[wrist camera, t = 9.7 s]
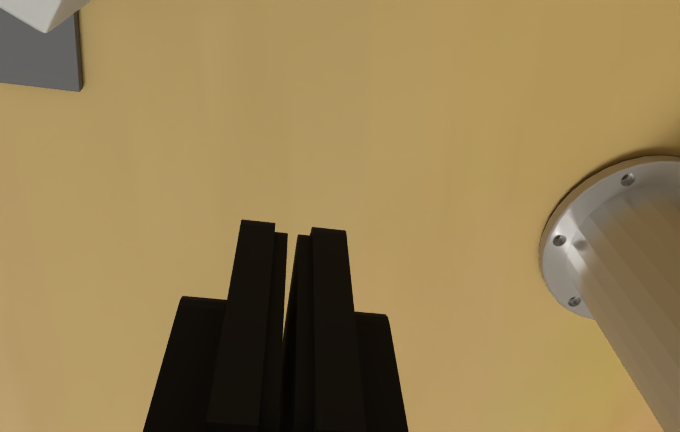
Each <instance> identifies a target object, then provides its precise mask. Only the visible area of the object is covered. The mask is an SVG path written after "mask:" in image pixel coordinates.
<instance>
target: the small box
mask: <svg viewBox="0 0 680 432" xmlns="http://www.w3.org/2000/svg"><path fill="white" fill-rule="evenodd" d="M89 1H90V0H0V8H2V9H3V10H5V11H7V12H8V13H10V14H12V15H13V16H15V17H17V18H18V19H20V20H22V21H23V22H25V23H27V24H28V25H30V26H32V27H34V28H35V29H37V30H39V31H41V32H43V33H48V32H49V31H51V30H53V29H54V28H55V27H57V26H58V25H60V24H61V23H62V22H63V21H65V20H66V19H67V18H68V17H70V16H71V15H72V14H73V13H75V12H76V11H77V10H79V9H80V8H81V7H83V6H84V5H86V4H87V3H88V2H89Z"/></svg>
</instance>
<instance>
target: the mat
mask: <svg viewBox="0 0 680 432" xmlns="http://www.w3.org/2000/svg"><path fill="white" fill-rule="evenodd" d="M0 83H9V84H17V85H25V86H34V87H42V88H51V89H59V90H67V91H76V92H80V91H81V90H82V89H83V84H82V70H81V56H80V42H79V28H78V14H77V11H76V12H75V13H73V14H72V15H71V16H70V17H68V18H67V19H66V20H65V21H63V22H62V23H61V24H60V25H58V26H57V27H55V28H54V29H53V30H51V31H49V32H48V33H43V32H41V31H39V30H37V29H35V28H34V27H32V26H30V25H28V24H27V23H25V22H23V21H22V20H20V19H18V18H17V17H15V16H13V15H12V14H10V13H8V12H7V11H5V10H3V9H2V8H0Z"/></svg>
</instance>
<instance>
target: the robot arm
mask: <svg viewBox="0 0 680 432" xmlns="http://www.w3.org/2000/svg"><path fill="white" fill-rule="evenodd" d="M287 238H288V233H279V232H275V223H270V222H260V221H251V220H241V225H240V231H239V236H238V242H237V248H236V253H235V259H234V265H233V270H232V276H231V281H230V287H229V293H228V298H227V300H221V299H210V298H199V297H188V296H182V298H181V300H180V302H179V305H178V309H177V312H176V316H175V319H174V323H173V327H172V330H171V334H170V337H169V341H168V344H167V348H166V351H165V355H164V358H163V362H162V365H161V369H160V373H159V376H158V380H157V383H156V387H155V390H154V394H153V397H152V401H151V404H150V408H149V412H148V415H147V419H146V422H145V426H144V429H143V432H408V426H407V420H406V415H405V409H404V403H403V398H402V392H401V386H400V381H399V375H398V369H397V363H396V358H395V352H394V346H393V341H392V335H391V329H390V324H389V320H388V317H387V316H386V315H385V314H375V313H364V312H354V304H353V294H352V284H351V275H350V265H349V255H348V246H347V236H346V231H345V230H335V229H326V228H316V227H312V229H311V233H310V236H308V235H299V234H298V237H297V243H296V250H295V257H294V264H293V272H292V279H291V286H290V293H289V300H288V307H287V314H286V321H285V328H284V335H283V319H284V299H285V279H286V259H287ZM539 267H540V271H541V275H542V278H543V280H544V282H545V284H546V286H547V287H548V289H549V291H550V293H551V294H552V295H553V296H554V298H555V299H556V300H557V302H558V303H560V304H561V305H562V306H563V307H564V308H566V309H567V310H569V311H571V312H573V313H575V314H577V315H579V316H582V317H586V318H590V319H593V320H595V321H596V322H597V324H598V325H599V327H600V329H601V330H602V332H603V333H604V335H605V337H606V338H607V340H608V342H609V343H610V345H611V346H612V348H613V350H614V351H615V353H616V355H617V356H618V358H619V359H620V361H621V363H622V364H623V366H624V367H625V369H626V371H627V372H628V374H629V376H630V377H631V379H632V380H633V382H634V384H635V385H636V387H637V388H638V390H639V392H640V393H641V395H642V397H643V398H644V400H645V401H646V403H647V405H648V406H649V408H650V409H651V411H652V413H653V414H654V416H655V418H656V419H657V421H658V422H659V424H660V426H661V427H662V429H663V430H664V432H680V157H674V156H666V155H659V156H644V157H640V158H635V159H631V160H627V161H623V162H621V163H618V164H616V165H613V166H611V167H608V168H605V169H604V170H602V171H600V172H598V173H597V174H595V175H593V176H592V177H590V178H588V179H587V180H585V181H584V182H583V183H582V184H580V185H579V186H578V187H576V188H575V189H574V190H573V191H571V193H570V194H569V195H568V196H567V197H566V198H565V199H564V200H563V201H562V202H561V203H560V204H559V205H558V207H557V208H556V210H555V211H554V213H553V214H552V216H551V217H550V219H549V220H548V223H547V225H546V227H545V229H544V232H543V234H542V237H541V242H540V247H539ZM282 339H283V342H282Z"/></svg>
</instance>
